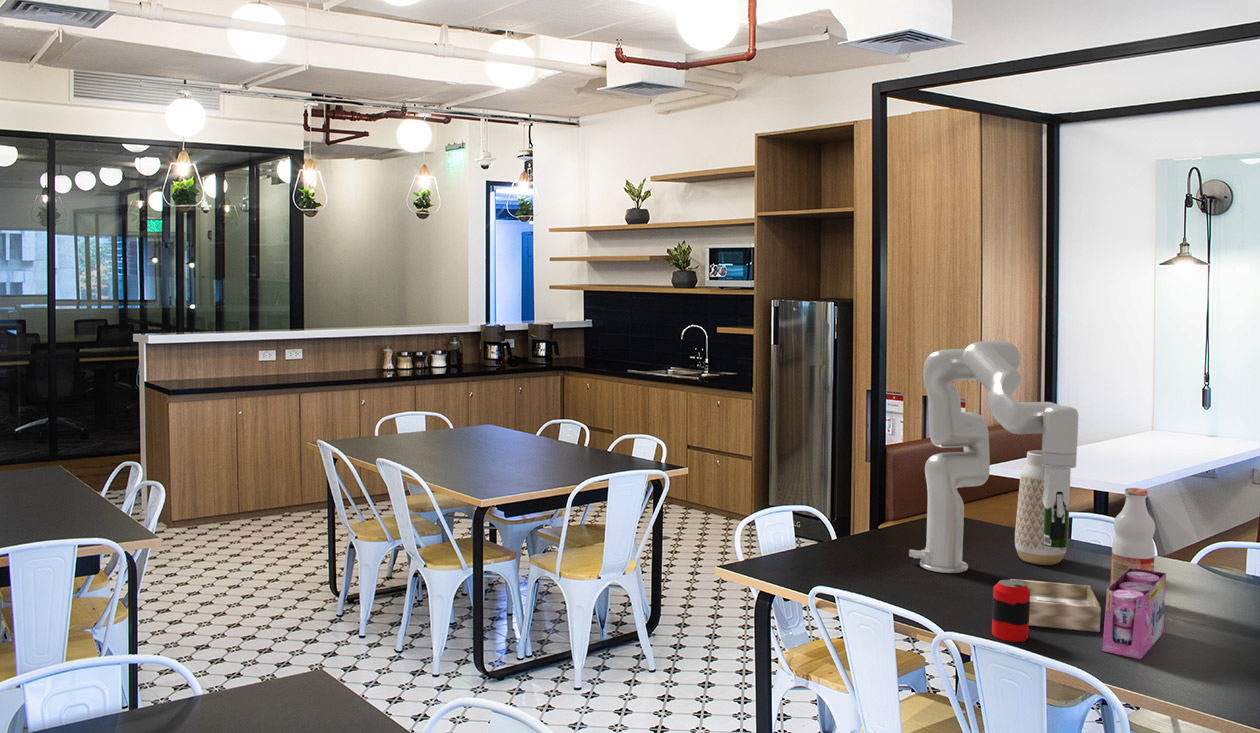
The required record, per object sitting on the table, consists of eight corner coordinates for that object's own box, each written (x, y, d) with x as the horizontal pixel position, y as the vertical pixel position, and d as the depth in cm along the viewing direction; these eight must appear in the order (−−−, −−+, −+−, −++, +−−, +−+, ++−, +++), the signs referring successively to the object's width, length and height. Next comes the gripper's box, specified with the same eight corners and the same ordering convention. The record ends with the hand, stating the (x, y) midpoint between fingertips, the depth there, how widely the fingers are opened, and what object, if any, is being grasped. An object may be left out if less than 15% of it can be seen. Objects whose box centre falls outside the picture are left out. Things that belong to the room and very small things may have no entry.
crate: (1014, 623, 239) (1015, 600, 238) (1009, 600, 256) (1010, 578, 255) (1099, 631, 234) (1100, 607, 233) (1089, 608, 251) (1089, 585, 250)
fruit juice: (1107, 594, 262) (1112, 484, 259) (1148, 598, 259) (1154, 487, 257) (1112, 605, 253) (1117, 491, 251) (1155, 609, 250) (1161, 494, 248)
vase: (1076, 562, 292) (1081, 454, 289) (1047, 570, 284) (1051, 458, 281) (1033, 551, 303) (1037, 447, 300) (1003, 558, 295) (1007, 451, 293)
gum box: (1140, 662, 215) (1143, 597, 214) (1099, 653, 220) (1102, 590, 219) (1164, 632, 234) (1167, 572, 233) (1126, 624, 239) (1129, 566, 238)
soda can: (1009, 644, 225) (1011, 589, 224) (984, 633, 232) (986, 580, 231) (1035, 639, 228) (1038, 586, 227) (1010, 629, 235) (1012, 577, 234)
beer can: (1058, 552, 240) (1060, 500, 239) (1037, 547, 244) (1039, 496, 243) (1072, 549, 243) (1074, 498, 242) (1051, 544, 247) (1054, 494, 246)
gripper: (1038, 452, 251) (1035, 527, 253) (1044, 464, 235) (1041, 543, 236) (1072, 454, 249) (1068, 529, 250) (1080, 466, 233) (1077, 546, 234)
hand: (1055, 535), depth 243 cm, fingers closed on beer can, 5 cm apart
